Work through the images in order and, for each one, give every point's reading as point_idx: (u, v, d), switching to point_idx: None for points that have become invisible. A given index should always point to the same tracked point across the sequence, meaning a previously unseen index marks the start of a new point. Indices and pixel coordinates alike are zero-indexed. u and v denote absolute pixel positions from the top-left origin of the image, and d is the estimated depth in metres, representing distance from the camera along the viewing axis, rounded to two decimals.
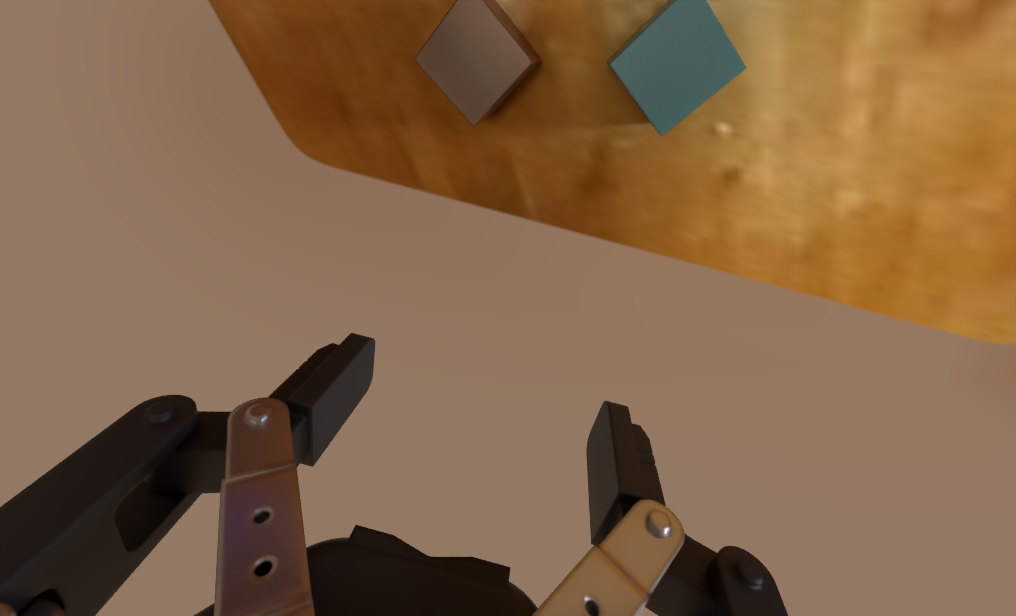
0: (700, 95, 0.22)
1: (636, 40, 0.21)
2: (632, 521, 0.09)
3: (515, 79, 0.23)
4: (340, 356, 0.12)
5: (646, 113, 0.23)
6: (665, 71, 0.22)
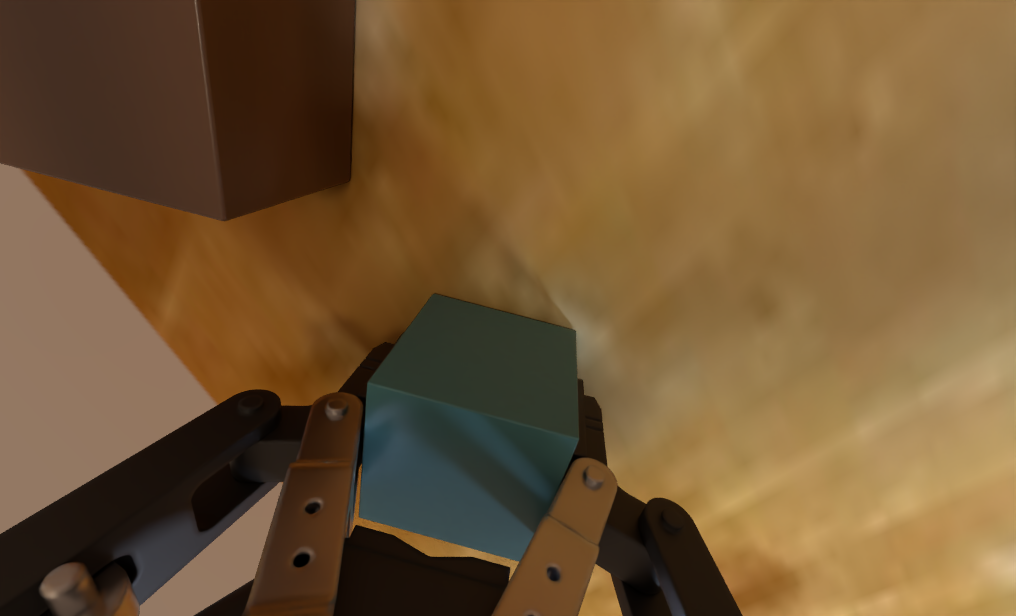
0: (450, 533, 0.11)
1: (436, 403, 0.09)
2: (569, 475, 0.10)
3: (161, 202, 0.08)
4: None
5: (362, 481, 0.11)
6: (435, 474, 0.10)
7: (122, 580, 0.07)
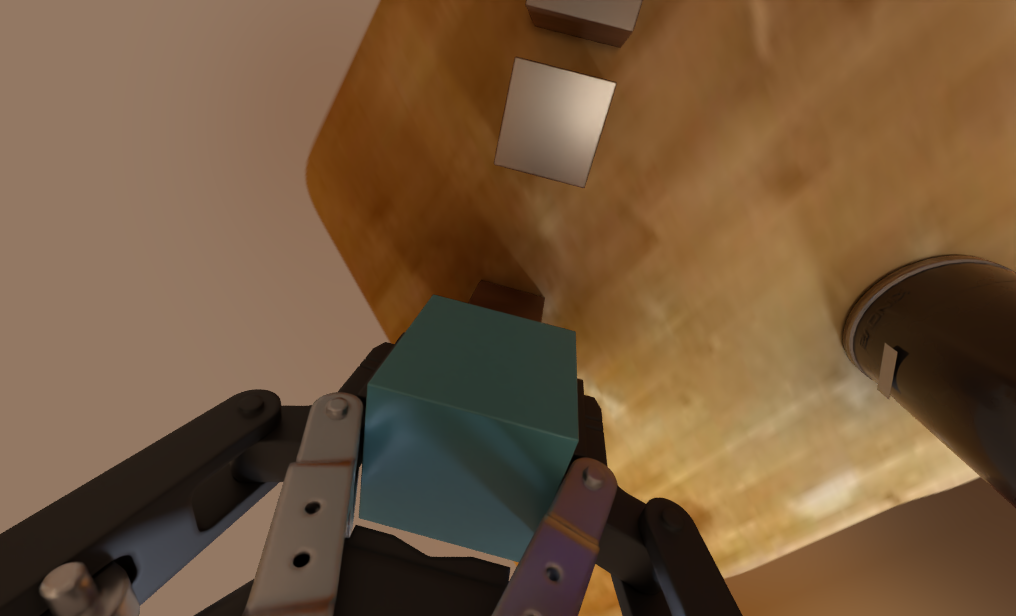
0: (450, 534, 0.11)
1: (436, 405, 0.09)
2: (569, 475, 0.10)
3: None
4: None
5: (362, 482, 0.11)
6: (435, 474, 0.10)
7: (122, 580, 0.07)
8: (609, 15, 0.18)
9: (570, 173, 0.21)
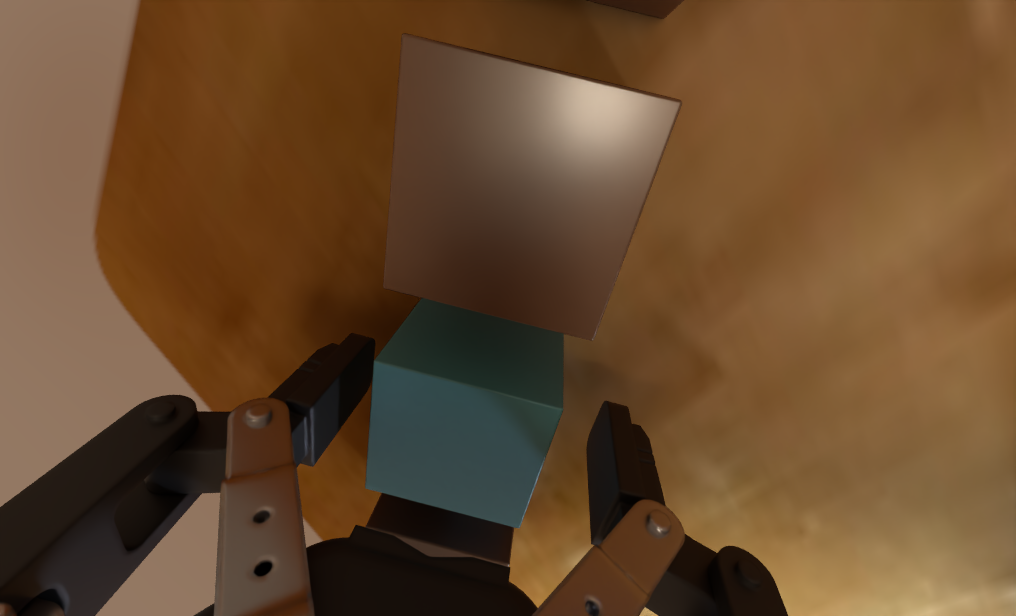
0: (449, 501, 0.12)
1: (435, 379, 0.10)
2: (632, 521, 0.09)
3: None
4: (340, 356, 0.12)
5: (369, 453, 0.12)
6: (435, 444, 0.11)
7: (55, 611, 0.06)
8: None
9: (559, 312, 0.09)
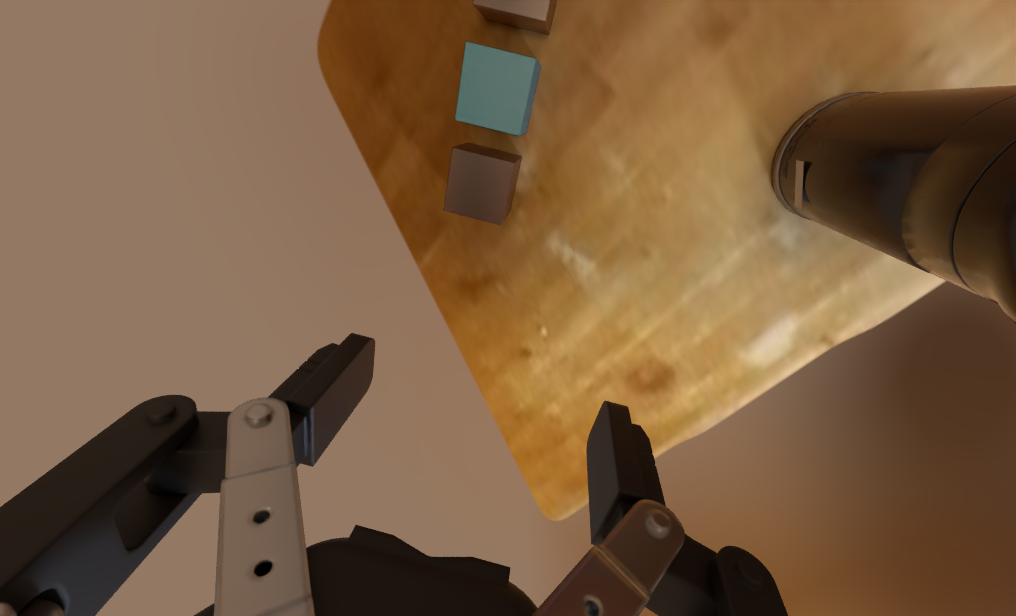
0: (490, 122, 0.29)
1: (488, 48, 0.27)
2: (632, 521, 0.09)
3: (487, 220, 0.33)
4: (340, 356, 0.12)
5: (459, 96, 0.29)
6: (487, 86, 0.28)
7: (55, 611, 0.06)
8: None
9: (534, 9, 0.26)
